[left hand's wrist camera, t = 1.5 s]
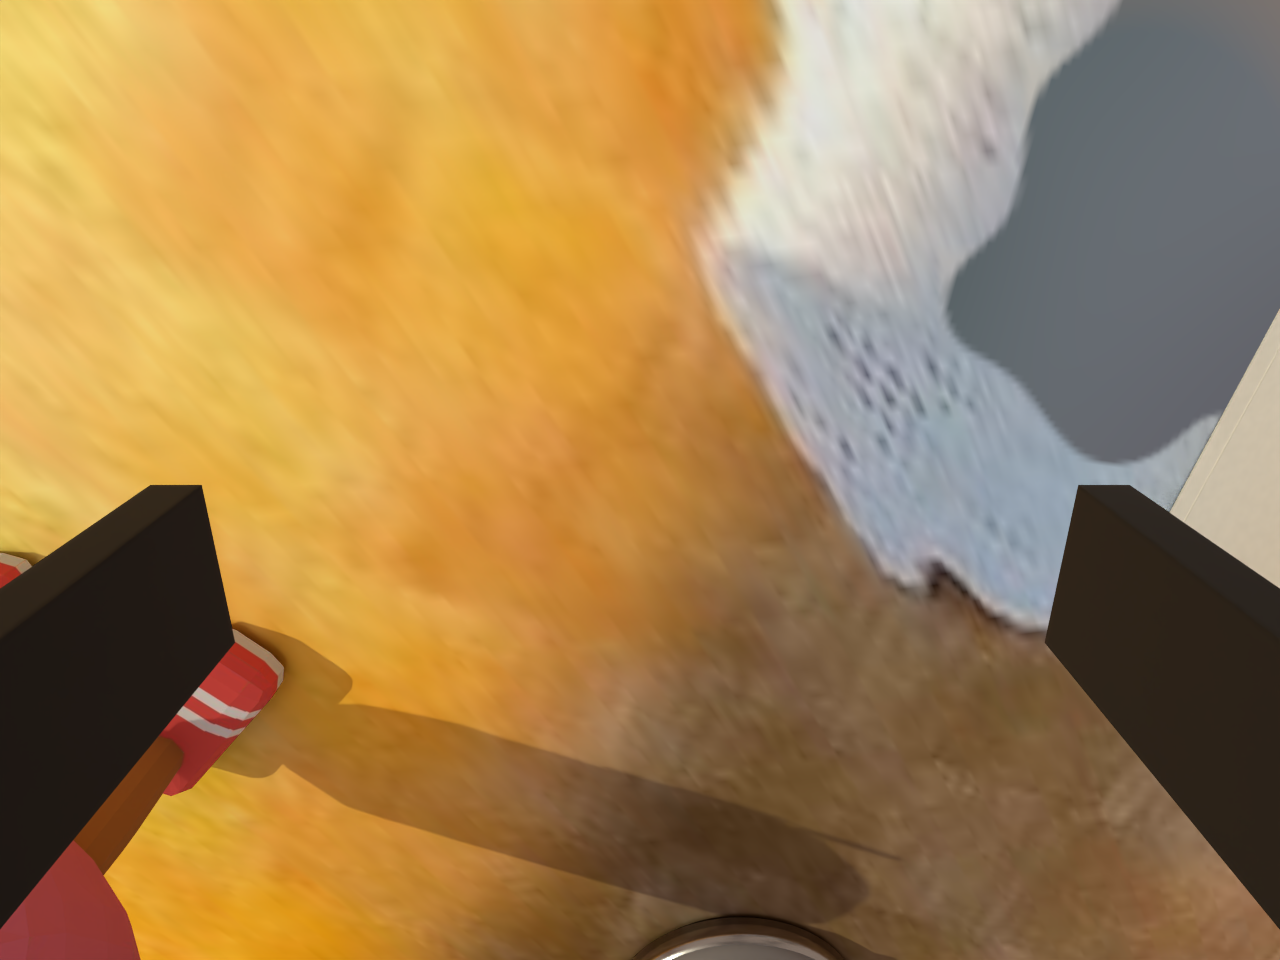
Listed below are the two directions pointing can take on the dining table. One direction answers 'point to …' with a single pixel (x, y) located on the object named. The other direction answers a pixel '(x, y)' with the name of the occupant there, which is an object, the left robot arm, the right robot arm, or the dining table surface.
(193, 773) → the toy
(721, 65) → the dining table surface
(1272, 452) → the beige cardboard box
